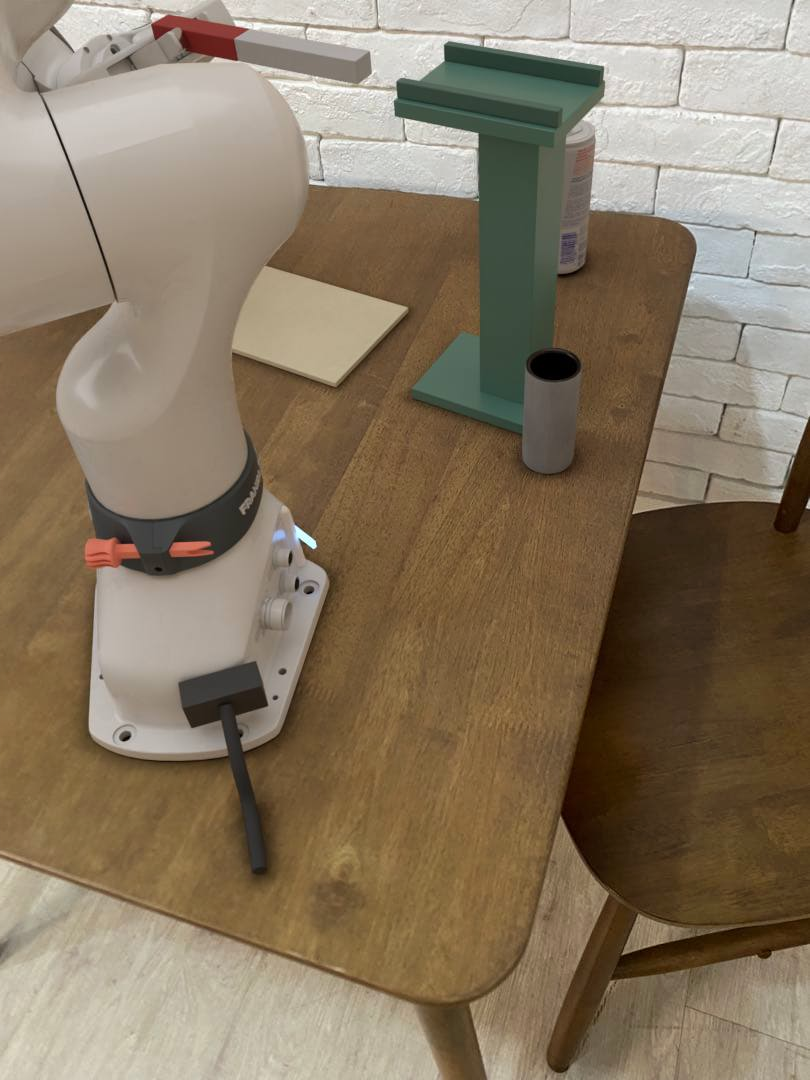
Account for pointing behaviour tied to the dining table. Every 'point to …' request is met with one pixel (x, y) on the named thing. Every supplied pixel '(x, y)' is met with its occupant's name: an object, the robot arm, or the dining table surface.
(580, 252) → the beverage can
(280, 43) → the bar magnet
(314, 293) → the mat
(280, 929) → the dining table surface
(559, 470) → the gray cylindrical cup
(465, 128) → the stand
